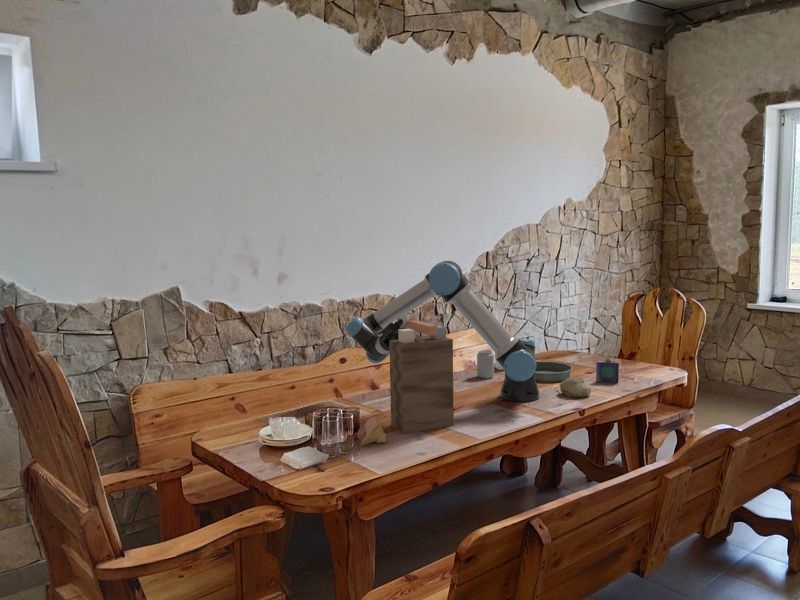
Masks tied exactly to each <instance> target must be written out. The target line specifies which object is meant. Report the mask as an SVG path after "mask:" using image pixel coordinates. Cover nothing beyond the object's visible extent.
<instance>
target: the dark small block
mask: <svg viewBox="0 0 800 600" xmlns="http://www.w3.org/2000/svg"><path fill="white" fill-rule="evenodd" d="M595 364H596V365H595V367H596V369H595V382H596V383H605V384H606V383H607V384H619V379H620V378H619V368H620V367H619V365H620V364H619V362H618V361H615V360H611V359H610V357H609V356H608V357H605V360H603V361H602V360H597V361H596V363H595Z"/></svg>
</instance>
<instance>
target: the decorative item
mask: <svg viewBox="0 0 800 600" xmlns="http://www.w3.org/2000/svg"><path fill="white" fill-rule="evenodd" d="M559 389H560V393H562V394H563V395H565V396H566V397H568V398H569V397H571V398H577V399H578V398H585V397H586V398H587V397H588V396H590V395H591V393H592V389H591V386H590V385H588V384H585V380H584V378H582V377H580V376H578V377H577V376H572V377H569V378H566V379H565V380H562V381H560V384H559Z"/></svg>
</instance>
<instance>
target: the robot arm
mask: <svg viewBox="0 0 800 600" xmlns="http://www.w3.org/2000/svg"><path fill="white" fill-rule="evenodd" d="M434 296H437V297H439V296H440V297H441V298H442V299H443V300H444V301H445V303H446V304H452V305H453V306H454V307H455V308H456V309H457V310H458V311H459V313H460V314H461V315H462V316H463V317H464V318H465V320H466V321H467V322H468V323H469V324H470V325H471V327H473V329H474V330H475V331H476V332H477V333H478V334H479V335H480V337H481V338H482V339H483V340H484V342H486V343H487V345H488V346H489V347H490V348H491V349H492V352H494V360H495V359H496V360H497V361H498V362H499V364H500V365H501V366H502V367H503V368H504V370H503V371H504V378H503V382H502V385H501V388H500V393H499V394H500V398H501V399H503V400H506V401H512V402H532V401H536V400H538V399H539V398H540V391H539V387H538V384H537V381H535V370H536V366H537V364H536V361H537V360H536V345H535V340H533V339H522V338H521V339H520V338H519V337H513V336H512V335H511V334H510V333H509V332H508V330H507V329H505V327H504V326H503V325H502V323H501V322H500V321H499V320H498V319H497V318H496V317H495V315H494V314H493V313H492V312H491V311H490V310H489V309H488V307H486V305H485V304H484V303H483V302H482V301H481V299H480V298H479V297H478V296H477V295H476V294H475V293H474V291H472V289H471V282H470V281H469V279H468V278H467V277H466V275H464V274H463V271H462V268H461V266H460V265H459V264H458V263H456V262H454V261H452V260H443V261H440V262H438V263H437V264H435V265H434V266H433V267H432V268H431V269H430V271H429V273H427V274H426V275H425V276H424V279H422V280H421V281H419V282H418V283H416V284H415V285H413V286H412V287H410V288H409V289H408V290H406V291H405V292H403V293H401V294H400V295H398V296H397V297H396V298H393V299H392V300H391V301H389V302H388V303H386V304H385V305H383V306H382V307H380V308H378V309H377V310H376V311H374V312H373V313H371V314H370V315H368V316H366V317H365V318H363V319H362V318H361V317H360V316H355V317H354V318H353V319H352V320H351V321H350V322H349V323H348V324H347V325H346V327H345V331H346V333H347V334H348V335H349V336H350V337H352V339H353V340H355V342H356V343H357V344H358V345H359V346H360V347H361V348H362V349H363V350H364V351H365V352H366V353H365V355H366V358H367V360H368V361H369V362H370V363H372V364H380V363H382V362H383V361H385V360H386V359H387V357H388V356H390V345H389V340H394V339H398V330H399V329H406V328H403V326H404V325H405V324H406V323H407V322H408V321H409V318H410V319H414V320H418V321H420V320H419V319H420V318H419V316H418V312H414V313H413V314H412V315H411V316H410V317H409V316H408V313H410V312H411V311H412V310H414V309H416V308H418V307H419V306H420V305H422V304H424V303H425V302H427V301H428V300H429V299H431V298H433V297H434ZM401 317H402V318H401ZM397 318H401V319H400V320H398V321H397Z"/></svg>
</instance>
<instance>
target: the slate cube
mask: <svg viewBox="0 0 800 600" xmlns="http://www.w3.org/2000/svg"><path fill="white" fill-rule="evenodd" d="M429 336H430V338H431V339H435V340H439V339H446V337H447V327H446V326H443V325H437V335H429Z"/></svg>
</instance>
